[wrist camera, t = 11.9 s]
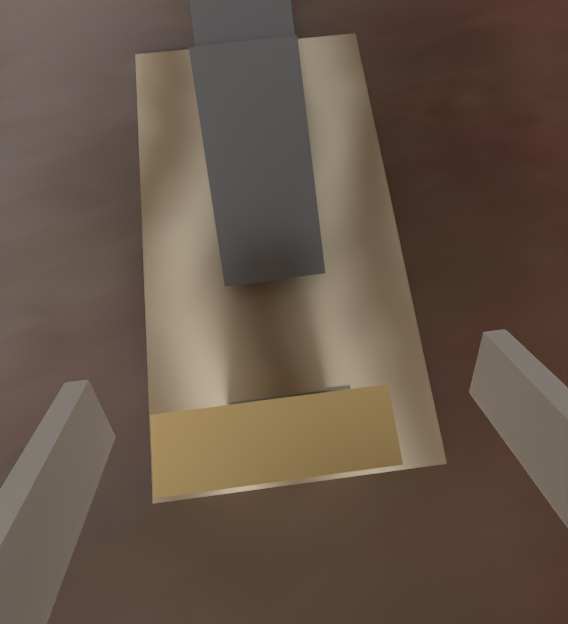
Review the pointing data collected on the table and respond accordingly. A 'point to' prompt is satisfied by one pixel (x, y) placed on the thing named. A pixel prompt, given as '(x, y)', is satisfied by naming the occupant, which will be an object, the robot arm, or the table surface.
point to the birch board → (284, 292)
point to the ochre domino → (273, 441)
